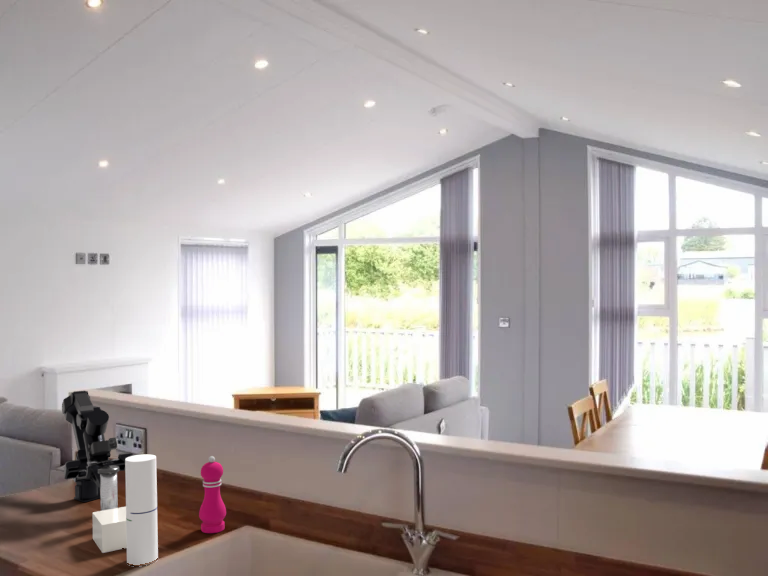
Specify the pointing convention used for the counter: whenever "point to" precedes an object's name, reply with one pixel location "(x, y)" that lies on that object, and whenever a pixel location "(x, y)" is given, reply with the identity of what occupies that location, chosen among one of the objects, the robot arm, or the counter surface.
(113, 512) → the block
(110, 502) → the silver jar
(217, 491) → the pepper mill
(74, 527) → the counter surface
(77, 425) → the robot arm
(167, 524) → the counter surface
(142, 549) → the cylindrical container
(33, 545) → the counter surface
